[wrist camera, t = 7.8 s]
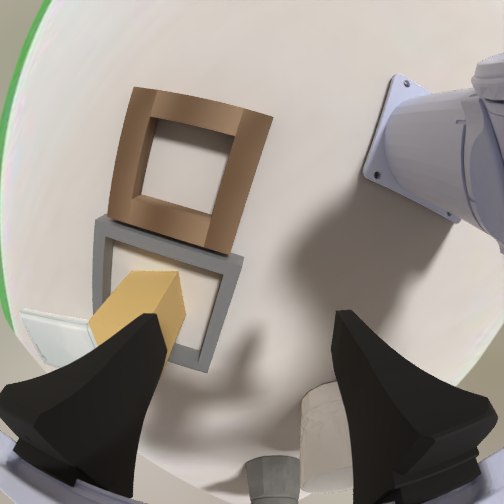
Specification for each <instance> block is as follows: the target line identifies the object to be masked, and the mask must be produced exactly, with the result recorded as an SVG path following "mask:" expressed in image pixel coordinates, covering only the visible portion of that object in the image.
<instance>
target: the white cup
mask: <svg viewBox="0 0 504 504" xmlns="http://www.w3.org/2000/svg"><path fill="white" fill-rule="evenodd" d="M300 430H301V433H300V444H301V445H300V488H301V489H302V490H303V491H306V492H310V493H335V492H341V491H346V490H350V489H353V467H352V454H351V443H350V435H349V427H348V421H347V416H346V412H345V408H344V405H343V401H342V397H341V394H340V390H339V387H338V383H337V381H335V382H331V383H327V384H323V385H320V386H318V387H316V388H315V389H313V390H311V391H309V392H308V393H307V395H306V396H305V397H304V398H303V399H302V404H301V424H300Z"/></svg>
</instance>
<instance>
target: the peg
mask: <svg viewBox="0 0 504 504" xmlns="http://www.w3.org/2000/svg"><path fill="white" fill-rule="evenodd" d="M143 313H155V314H157V317H158V320H159V324H160V327H161V331H162V334H163V337H164V340H165V344H166V347H167V350H168V351H167V355H166V359H165V364H164V367H165V365H166V362H167V360H168V357H169V355H170V352H171V350H172V348H173V345H174V343H175V340H176V338H177V335H178V333H179V330H180V328H181V326H182V323H183V321H184V319H185V316H186V312H185V307H184V301H183V296H182V290H181V284H180V278H179V272H178V271H131V272H130V273H129V274H128V276H127V277H126V278H125V279H124V280H123V281H122V282H121V283H120V285H119V286H118V287H117V288H116V289H115V290H114V291H113V293H112V294H111V295H110V296H109V297H108V298H107V300H106V301H105V302H104V303H103V304H102V305H101V307H100V308H99V309H98V310H97V311H96V313H95V314H94V315H93V316H92V318H91V319H90V320H89V321H88V324H89V326H90V329H91V331H92V334H93V336H94V338H95V341H96V343H97V345H98V346H99V345H100V344H102V343H103V342H105V341H106V340H108V339H109V338H110V337H112V336H113V335H114V334H116V333H117V332H118V331H120V330H121V329H122V328H124V327H125V326H126V325H128V324H129V323H130V322H132V321H133V320H134V319H136V318H137V317H138V316H140V315H141V314H143ZM164 367H163V370H164ZM162 372H163V371H162ZM161 375H162V374H161ZM160 377H161V376H160Z"/></svg>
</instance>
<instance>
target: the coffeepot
mask: <svg viewBox="0 0 504 504" xmlns="http://www.w3.org/2000/svg"><path fill="white" fill-rule="evenodd" d="M246 468H247V476H248V484H249V492H250V500H251V504H298V499H299V493H300V459H297V458H294V457H289V456H264V457H259V458H255V459H253V460H251V461H249V462H248V463H246Z"/></svg>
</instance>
